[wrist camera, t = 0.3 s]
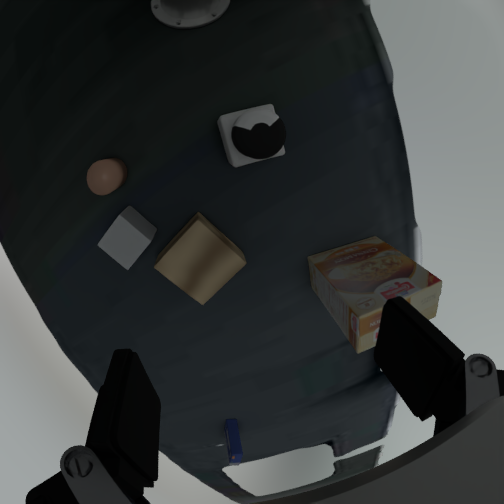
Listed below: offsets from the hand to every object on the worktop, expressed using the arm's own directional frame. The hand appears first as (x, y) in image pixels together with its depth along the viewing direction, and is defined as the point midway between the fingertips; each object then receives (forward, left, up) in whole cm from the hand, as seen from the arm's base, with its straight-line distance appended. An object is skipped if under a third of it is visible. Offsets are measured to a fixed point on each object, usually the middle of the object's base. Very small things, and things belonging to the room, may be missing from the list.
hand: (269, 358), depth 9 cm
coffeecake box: (+26, +7, -36) cm, 45 cm away
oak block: (+5, -9, -36) cm, 38 cm away
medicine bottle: (-3, +9, -36) cm, 37 cm away
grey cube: (-6, -14, -36) cm, 39 cm away
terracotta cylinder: (-14, -9, -36) cm, 40 cm away
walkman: (+44, -44, -36) cm, 72 cm away
